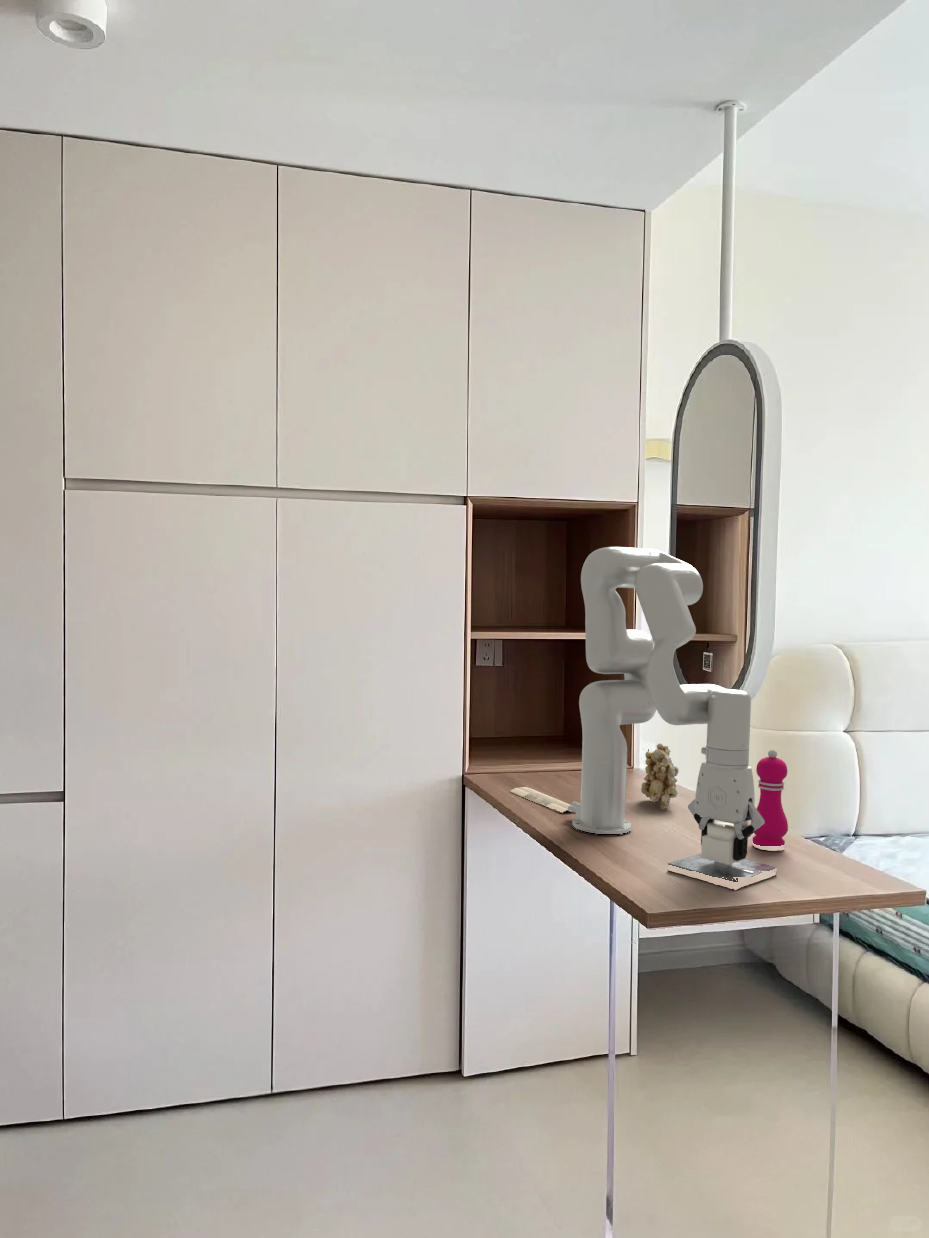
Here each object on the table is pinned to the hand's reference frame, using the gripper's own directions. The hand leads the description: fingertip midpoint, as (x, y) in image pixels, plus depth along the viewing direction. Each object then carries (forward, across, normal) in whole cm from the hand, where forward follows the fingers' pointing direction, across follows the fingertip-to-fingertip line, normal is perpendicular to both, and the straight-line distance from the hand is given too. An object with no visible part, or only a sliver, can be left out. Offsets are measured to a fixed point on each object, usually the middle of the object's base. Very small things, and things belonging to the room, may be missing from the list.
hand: (723, 854), depth 179 cm
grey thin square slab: (+4, 0, 0) cm, 4 cm away
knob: (+1, 0, 0) cm, 1 cm away
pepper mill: (+4, -4, +23) cm, 24 cm away
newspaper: (+4, -58, +15) cm, 60 cm away
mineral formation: (+4, -39, +35) cm, 53 cm away
